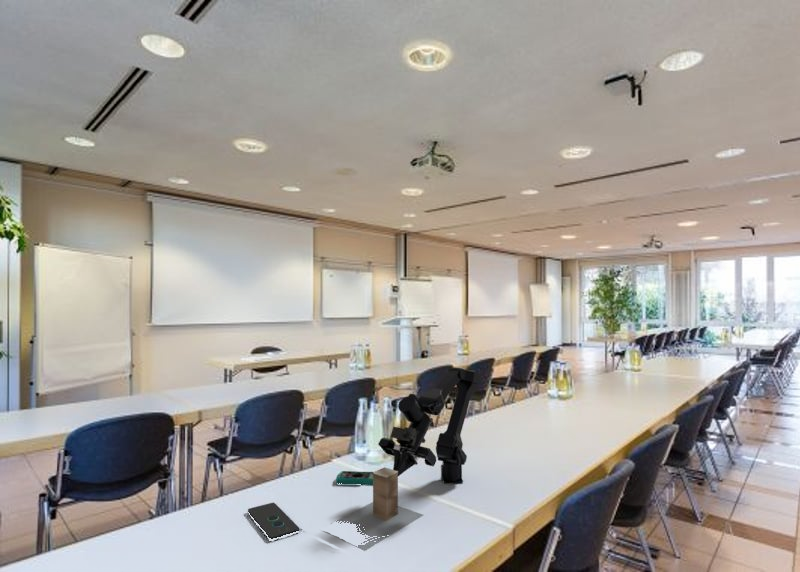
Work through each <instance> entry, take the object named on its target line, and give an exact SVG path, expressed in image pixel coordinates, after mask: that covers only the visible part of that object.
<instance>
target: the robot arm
mask: <svg viewBox="0 0 800 572" xmlns="http://www.w3.org/2000/svg"><path fill="white" fill-rule="evenodd" d="M481 382H482V376H481V375H480V373H479V372H478V371H477V370H469V369H466V368H465V369H464V368H463V367H456V366H454V367H453V366H452V367H449V369H448V372H447V373H446V374H445V375H444V376H443V378H441V380H439V382H438V383H437V384H436V385H435V386H434V388H433V389H431V390H428V391H425V392H423V394H421V395H420V397H417V395H416V394H415V393H409V394H408V396H405V397H404V398H402V399H401V400H400V401H399V402H398V404H397V405H398V406H397V408H398V410H399V411H400V412H401V414H402V416H403V418H405V420H406V421H407V422H409V425H408V427H407V426H406V427H404V428H402V427H397V426H392V430H391V432H390V437H389V438H388V437H382V438H381V439H380V440H379V442H378V443H377V445H378V446H379V447H380V448H381V449H382V450H383V452H384V453H385V454H387V455H388V456H393V458H394V460H393V467H392V470H395V471H398V477H400V476H401V475H402V474H403V473H405V472H406V471H407V470H410V468H411V467H413V466H417V465H418V460H419V459H423V460H424V464H425V465H427V466H430V467H435V465H436V462H437V461H440V462H442V464H440V479H441V480H442V481H444V482H443V483H444V484H463V483H464V480H463V465H465V463H466V462H467V458H468V456H467V454H466V452H464V450H463V445H464V443H463V439H462V436H461V434H462V430H463V427H464V423H465V419H466V415H467V412H468V409H469V408H468V407H469V404H470V401H471V397H472V395H473V394H475V393H476V392H477V391H478V388H479V386H480V384H481ZM455 387H456V389H457V393H456V396H455V400H454V403H453V406H452V409H451V414H450V418H449V421H448V423H447V426H446V427H447V428H446V430H445V431H444V432H440V433H439V435H438V439H437V441H436V443H435V444H436V445H435V453H436V455H435V453H434V452H433V451H432V450H431V448H429V447H425V446H422V444H425V443H426V441H427V440H426V439H425V436H426V434H427V432H428V430H429V428H430V427H431V428H434V427H435V423H434V420H433V419H434V418H433V417H430V416H429V415H432V416H438V415H440V414H441V412H442V411H443V409H444V407H445V400H446V398H447V397H448V396H449V395H450V393H451V392H453V390H454V388H455ZM392 438H393V439H392ZM394 439H396V442H397V443H396V442H395V441H394Z"/></svg>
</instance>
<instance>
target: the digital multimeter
mask: <svg viewBox="0 0 800 572" xmlns="http://www.w3.org/2000/svg"><path fill="white" fill-rule="evenodd" d="M373 472H374V471H352V470H350V471H349V470H341V472H339V473H338V474H337V475H336V484H337V483H338V484H339V483H340V484H341V483H342V484H361V485H362V486H364V485H370V486H371V485H372V486H373Z"/></svg>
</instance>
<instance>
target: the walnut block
mask: <svg viewBox="0 0 800 572" xmlns="http://www.w3.org/2000/svg"><path fill="white" fill-rule="evenodd" d="M372 472H373V485H372V502H373V516H376V517H378V518H381V519H384V520H386V521H387V520H389V519H390V518H392V517H394V516H396V515H397V514H398V506H399V476H398V471H395V470H393V468H388V467H381V468H380V469H377V470H375V471H372Z"/></svg>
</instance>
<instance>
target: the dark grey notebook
mask: <svg viewBox="0 0 800 572" xmlns="http://www.w3.org/2000/svg"><path fill="white" fill-rule="evenodd" d="M248 512H249V513H250V515H251V516H252V517H253V518H254V520H255V521H256V522H257V523H258V524H259V525H260V527H261V528H262V529H263V530H264V531H265V532H266V534H267V535H268V537H269V538H271V539H273V538H277V537H281V536H283V535H286V534H290V533H293V532H296V531H299V532H300V527H299V526H298V525H297V524H296V523H295V522H294V520H292V518H290V517H289V515H287V513H285V511H283V510H282V509H281V508H280V506H279V505H278V504H277V503H275V502H269V503H265V504H261V505H257V506H254V507H251V508H247V513H248Z"/></svg>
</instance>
